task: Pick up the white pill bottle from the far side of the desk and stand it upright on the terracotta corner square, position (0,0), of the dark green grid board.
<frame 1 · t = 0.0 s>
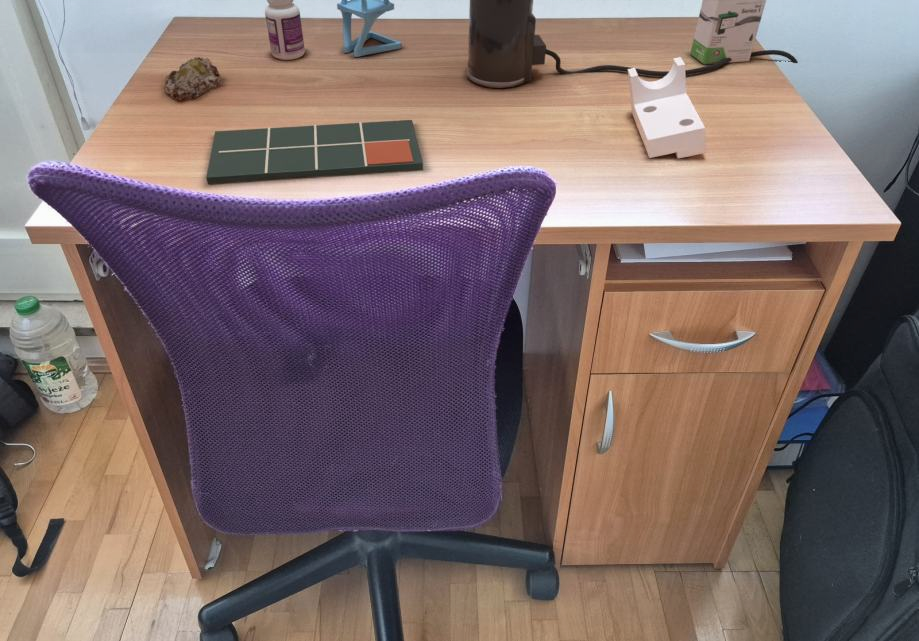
pill bottle: (288, 55, 118), on the table
chair: (368, 49, 120), on the table
mineral rock: (191, 88, 108), on the table
bracket: (659, 136, 99), on the table
grid board: (316, 153, 93), on the table
ink box: (719, 58, 120), on the table
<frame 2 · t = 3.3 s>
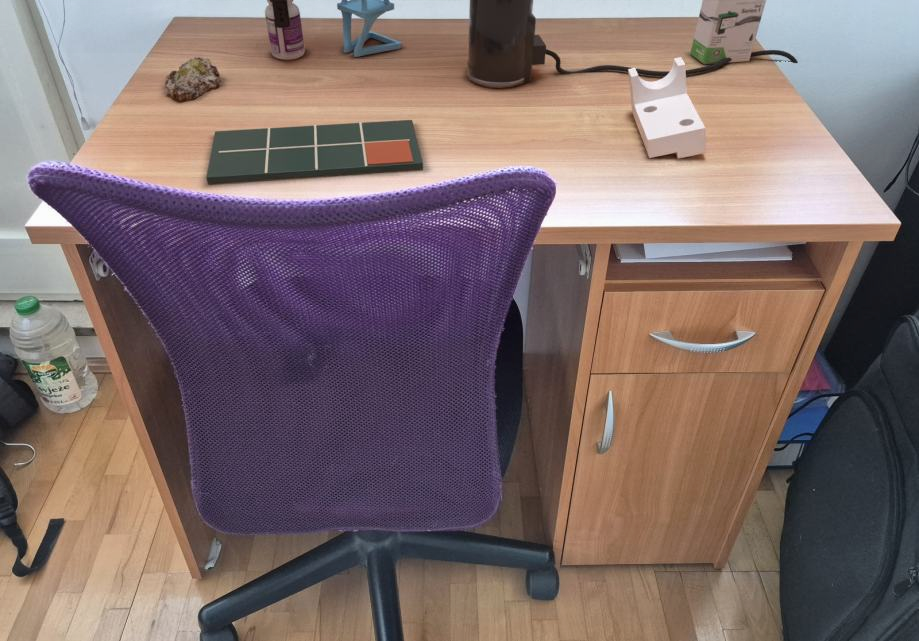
hand: (283, 19, 114), 5 cm above the table, tool pointing down, fingers closed on pill bottle, 5 cm apart
pill bottle: (288, 55, 118), on the table, touching gripper
everything else where it was.
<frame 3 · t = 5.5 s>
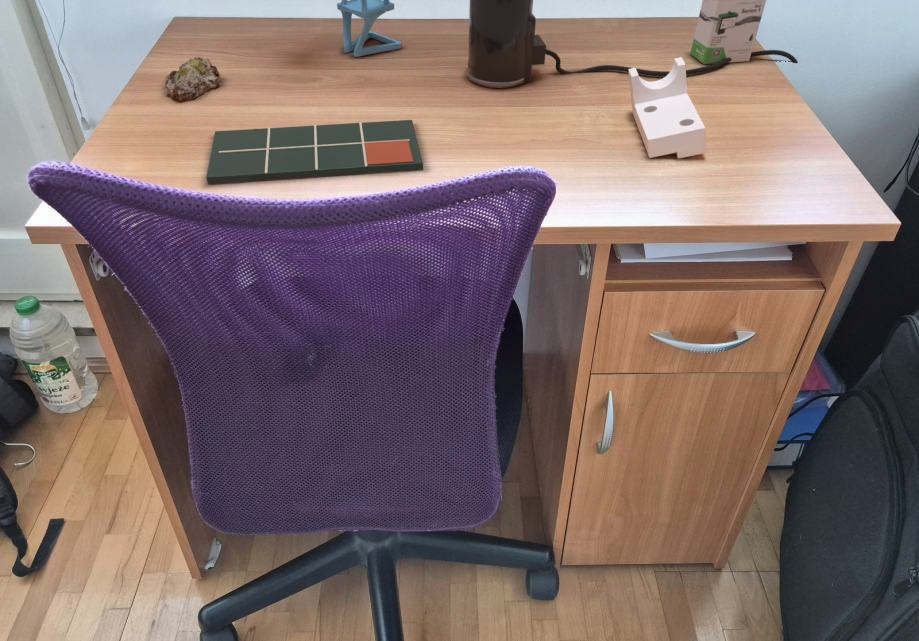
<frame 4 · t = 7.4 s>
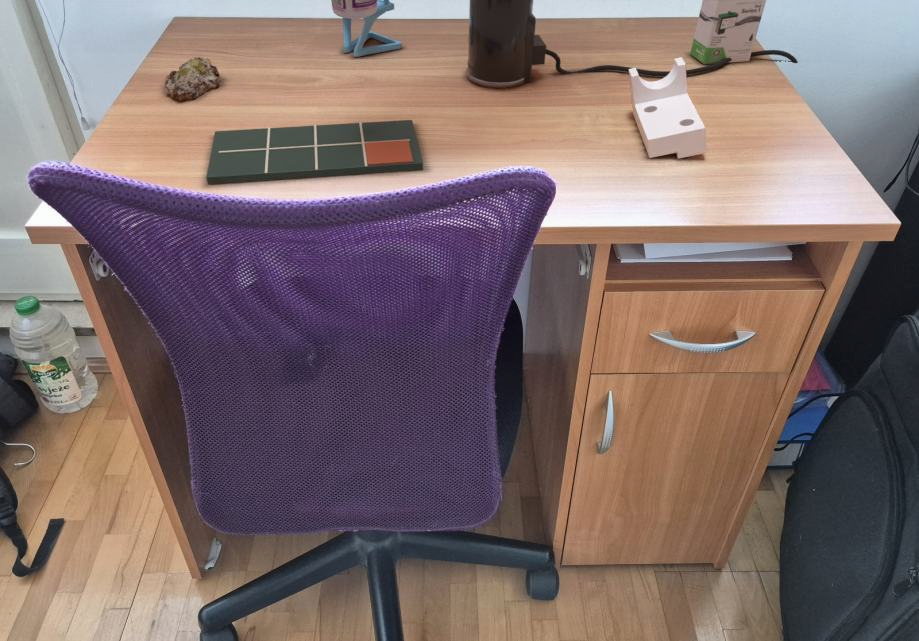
pill bottle: (355, 14, 86), point 16 cm above the table, touching gripper
everything else where it was.
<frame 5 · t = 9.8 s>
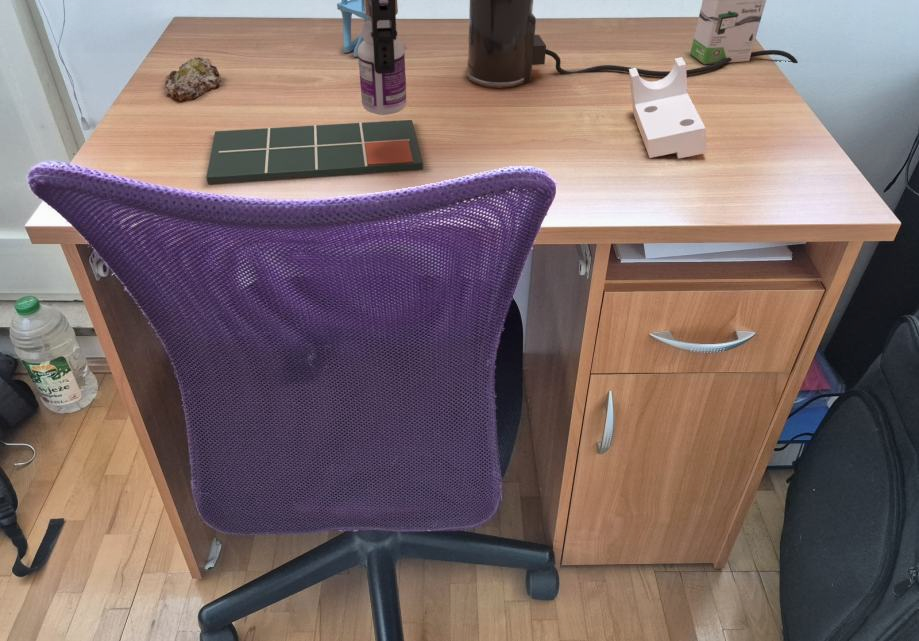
hand: (382, 61, 84), 13 cm above the table, tool pointing down, fingers closed on pill bottle, 5 cm apart
pill bottle: (384, 107, 87), point 7 cm above the table, touching gripper
everything else where it was.
when the fingers open (7 cm above the table, at t = 11.7 s): pill bottle stays where it is, resting on grid board.
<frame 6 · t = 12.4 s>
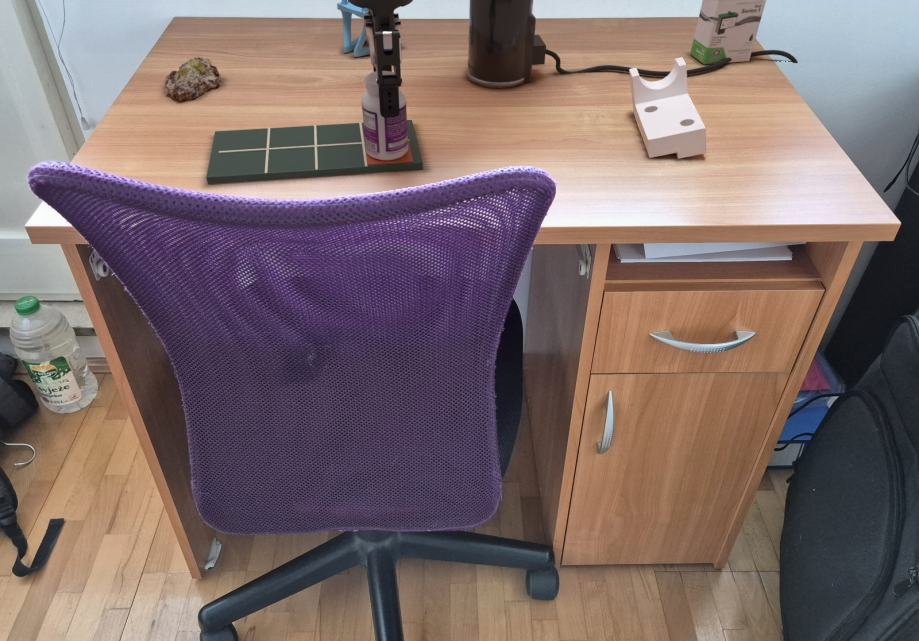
hand: (386, 100, 87), 8 cm above the table, tool pointing down, fingers open, 8 cm apart
pill bottle: (386, 152, 91), point 1 cm above the table, touching grid board
everything else where it was.
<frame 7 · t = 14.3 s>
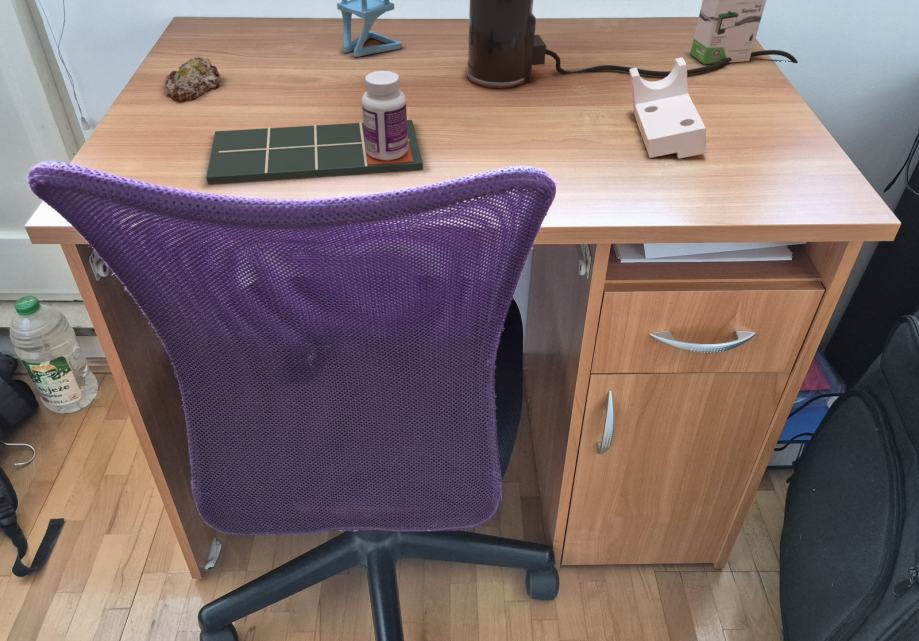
nothing on the table moved.
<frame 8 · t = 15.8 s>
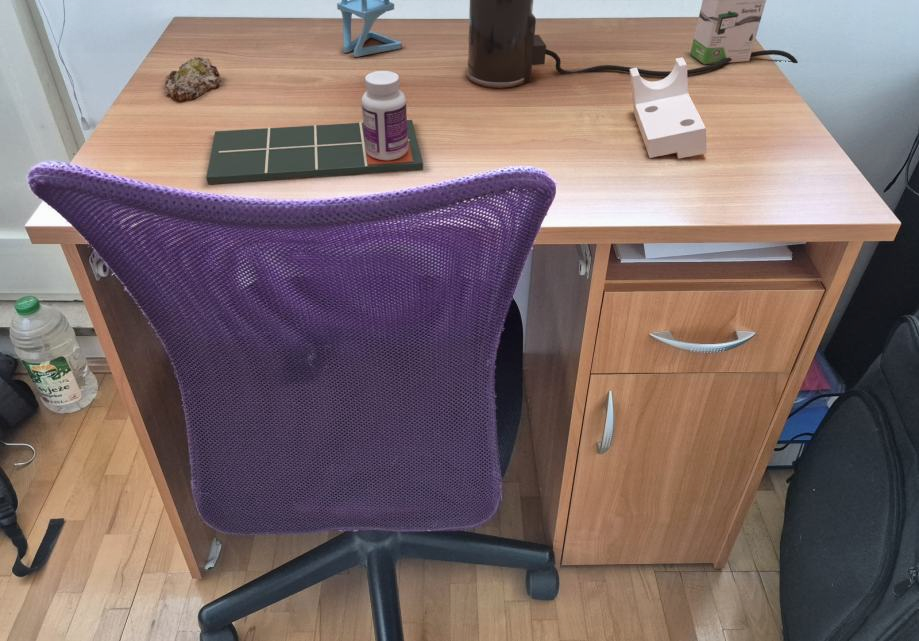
nothing on the table moved.
at the end: pill bottle 0.2 cm from the target spot on the grid board, point 1.0 cm above the grid board's base; pill bottle tilted 0°; the gripper is holding nothing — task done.
